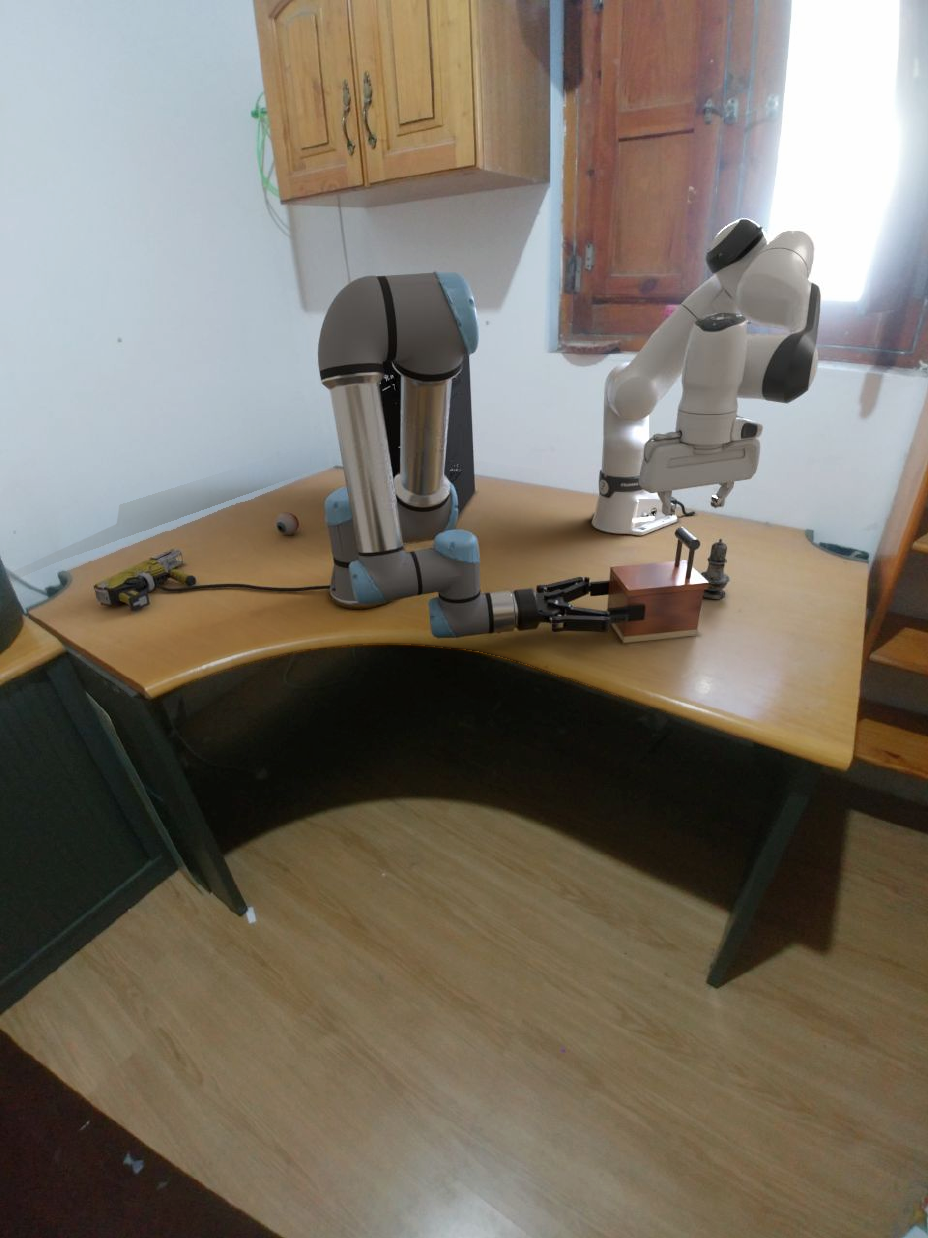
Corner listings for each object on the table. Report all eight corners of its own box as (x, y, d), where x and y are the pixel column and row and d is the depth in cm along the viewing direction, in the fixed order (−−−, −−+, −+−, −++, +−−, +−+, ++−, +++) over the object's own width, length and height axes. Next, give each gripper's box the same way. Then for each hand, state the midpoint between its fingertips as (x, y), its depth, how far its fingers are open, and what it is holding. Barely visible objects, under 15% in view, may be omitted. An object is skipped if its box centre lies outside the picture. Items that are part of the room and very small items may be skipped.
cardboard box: (444, 537, 157) (431, 349, 135) (371, 534, 162) (346, 352, 139) (475, 491, 189) (468, 332, 166) (413, 489, 193) (398, 335, 171)
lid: (684, 565, 114) (690, 521, 110) (707, 589, 106) (716, 542, 102) (609, 573, 113) (613, 528, 109) (627, 596, 105) (632, 550, 100)
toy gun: (219, 557, 146) (169, 546, 150) (142, 598, 126) (87, 585, 129) (222, 574, 148) (172, 563, 152) (147, 618, 128) (92, 604, 132)
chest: (674, 609, 119) (680, 566, 114) (696, 635, 111) (704, 589, 106) (606, 616, 118) (609, 573, 113) (623, 643, 110) (627, 597, 105)
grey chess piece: (729, 600, 121) (739, 544, 115) (698, 598, 122) (707, 543, 116) (724, 586, 126) (734, 533, 120) (694, 585, 127) (703, 532, 121)
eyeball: (273, 537, 164) (268, 516, 161) (287, 528, 169) (282, 508, 166) (291, 539, 161) (286, 518, 158) (305, 530, 166) (301, 510, 163)
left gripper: (504, 600, 121) (612, 589, 122) (526, 661, 102) (654, 648, 103) (503, 566, 117) (615, 555, 119) (526, 623, 98) (659, 610, 99)
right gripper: (656, 439, 92) (647, 525, 99) (772, 424, 96) (755, 508, 103) (635, 430, 97) (628, 512, 104) (746, 417, 101) (732, 497, 108)
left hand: (633, 598), depth 111 cm, fingers closed on chest, 10 cm apart
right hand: (692, 510), depth 103 cm, fingers open, 8 cm apart
